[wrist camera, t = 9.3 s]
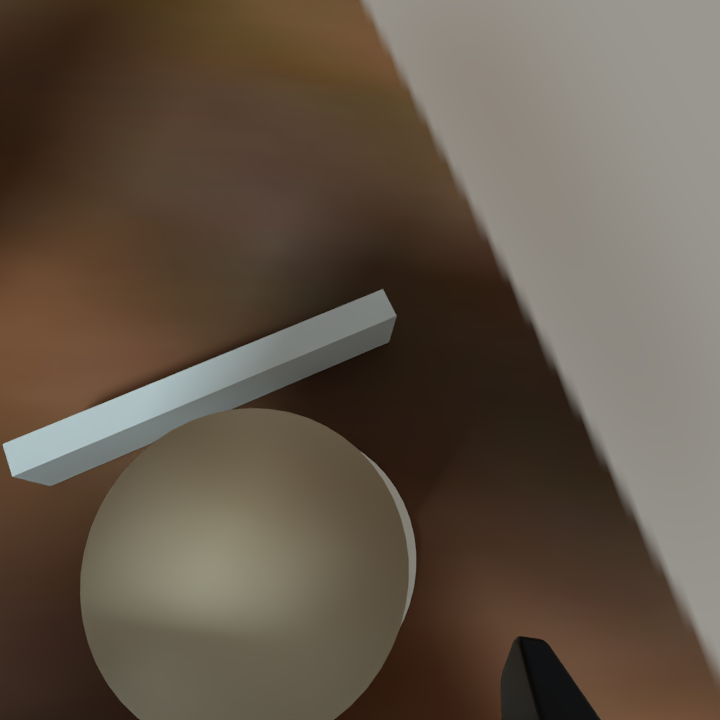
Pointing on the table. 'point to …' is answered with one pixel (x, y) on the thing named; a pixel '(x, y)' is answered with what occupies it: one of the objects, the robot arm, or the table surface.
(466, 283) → the table surface
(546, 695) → the robot arm
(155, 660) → the birch cylinder
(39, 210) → the table surface
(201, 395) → the acrylic wall
